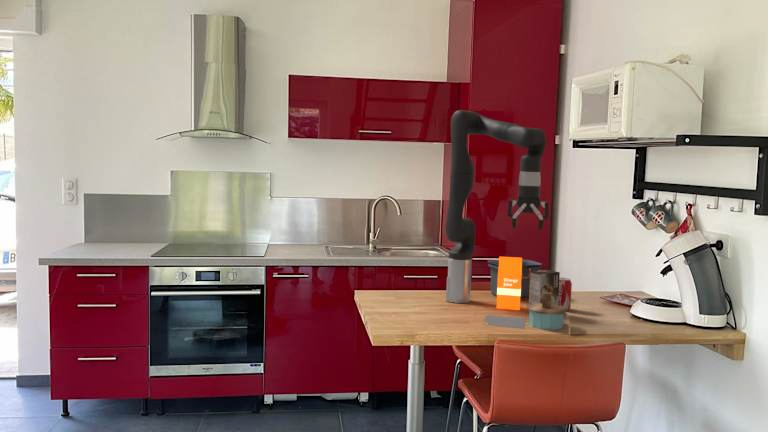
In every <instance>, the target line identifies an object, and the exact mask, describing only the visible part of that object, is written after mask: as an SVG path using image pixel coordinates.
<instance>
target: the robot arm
mask: <svg viewBox="0 0 768 432" xmlns="http://www.w3.org/2000/svg"><path fill="white" fill-rule="evenodd" d="M468 135H470V136H471V135H484V136H485V135H486V136H489V137H492V138H494V139H495V140H498V141H502V142H505V143H509V144H513V145H516V146H518V147H521V148H526V149H527V151H526V154H525V155H522V156H521V158H520V166H519V167H520V168H519V169H520V170H519V176H518V190H517V191H518V192H517V200H513V199H509V201H508V207H507V217H509V218H511V219H512V224H511V227H512V228H513V229H514V230H517V218H518V216H519V215H520V214H521V212H522V213H524V214H526V213H528V214H533V213H535V214H536V216H537V217H538V230H537V231H541V230H543V228H544V227H543V226H544V225H543V224H544V220H546V219H548V218H549V201H541V199H540V198H541V183H542V182H541V164H542V158H543V156H544V151H545V148H546V143H547V138H546V137H547V135H546V133H545V131H544V130H543V129H541V128H538V127H537V128H535V127H525V126H521V125H518V124H516V123H512V122H507V121H502V120H497V119H492V118H489V117H486V116H484V115H482V114H480V113H478V112H476V111H472V110H463V109H458V110H456V111H454V113H453V114H452V116H451V119H450V139H451V143H450V144H451V153H450V154H451V155H450V157H451V158H450V160H451V162H450V173H449V175H450V176H449V177H450V178H449V197H448V208H447V214H446V221H445V229H444V230H445V231H444V232H445V235H446V238H447V240H448V241H450V242H452V243H456V244H455V246H454V247H453V248H451V249H450V250H449V252H448V261H447V277H446V290H445V292H446V293H445V295H446V296H445V301H446V302H450V303H453V302H454V303H453V304H465V303H467V304H468V303H470V302H471V292H472V290H471V289H472V288H471V287H472V262H473V261H472V260H473V254H474V252H475V246H476V245H475V244H476V232H477V231H476V225H475V222H474V221H473V219H471V218H468V217H464V216H463V214H464V208H465V204H466V202H467V200H468V198H469V196H470V194H471V193H472V190H473V188H474V183H475V182H474V181H475V180H474V179H475V167H474V163H473V161H472V158H471V156H470V154H469V150H468V149H469V148H468V143H467V142H468ZM515 205H516V206H517V207H518V209H517V210H516V212H515V213H514V214H513V213H512V212H513V207H515ZM541 206H542V208H544V215H542V213H541V211H540V210H539V207H541Z"/></svg>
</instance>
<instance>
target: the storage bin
mask: <svg viewBox="0 0 768 432" xmlns="http://www.w3.org/2000/svg"><path fill="white" fill-rule="evenodd" d="M487 263H488V264H487V267H489V268H490V291H491V292H490V293H491V295H494V296H496V297H497V285H498V268H499V259H498V260H497V259H495V260H494V259H493V260H492V259H491V260H490V259H489V260H487ZM542 265H543V263H541V262H538V261H534V260H530V259H522V275H521V296H520V298H527V297H528V298H529V290H530V271H538V270H542V267H541V266H542Z"/></svg>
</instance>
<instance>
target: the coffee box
mask: <svg viewBox="0 0 768 432" xmlns="http://www.w3.org/2000/svg"><path fill="white" fill-rule="evenodd" d="M560 274H561V273H560V271H556V270H550V269H538V271H530V290H529V297H528V304H533V303H542V302H543V292H551V304H555V305H558V301H559V278H561V277H560ZM528 312H530V311H529V310H528Z"/></svg>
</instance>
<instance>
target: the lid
mask: <svg viewBox="0 0 768 432" xmlns="http://www.w3.org/2000/svg"><path fill="white" fill-rule="evenodd" d="M526 310H528V312H529V311H532V312H536V313H541V314H563V315H564V314H565V313H566V312H567V311H566V308H565V307H563V306H560V305H555V304H551V292H543V302H542V303H533V304H529V303H528V304H527V305H526Z"/></svg>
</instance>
